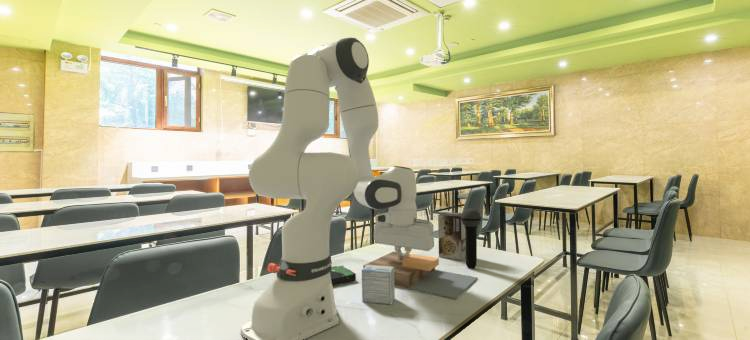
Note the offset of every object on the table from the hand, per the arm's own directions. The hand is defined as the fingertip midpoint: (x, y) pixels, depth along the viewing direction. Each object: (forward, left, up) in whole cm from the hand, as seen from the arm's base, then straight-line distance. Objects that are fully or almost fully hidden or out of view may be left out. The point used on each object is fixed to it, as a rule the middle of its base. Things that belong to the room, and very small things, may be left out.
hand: (403, 260), depth 109 cm
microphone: (+18, -16, -5) cm, 24 cm away
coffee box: (+27, -6, -5) cm, 28 cm away
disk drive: (-17, +17, -5) cm, 25 cm away
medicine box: (-20, -4, -5) cm, 21 cm away
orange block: (0, -6, -1) cm, 6 cm away
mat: (0, -14, -5) cm, 15 cm away
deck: (0, +1, -5) cm, 5 cm away
